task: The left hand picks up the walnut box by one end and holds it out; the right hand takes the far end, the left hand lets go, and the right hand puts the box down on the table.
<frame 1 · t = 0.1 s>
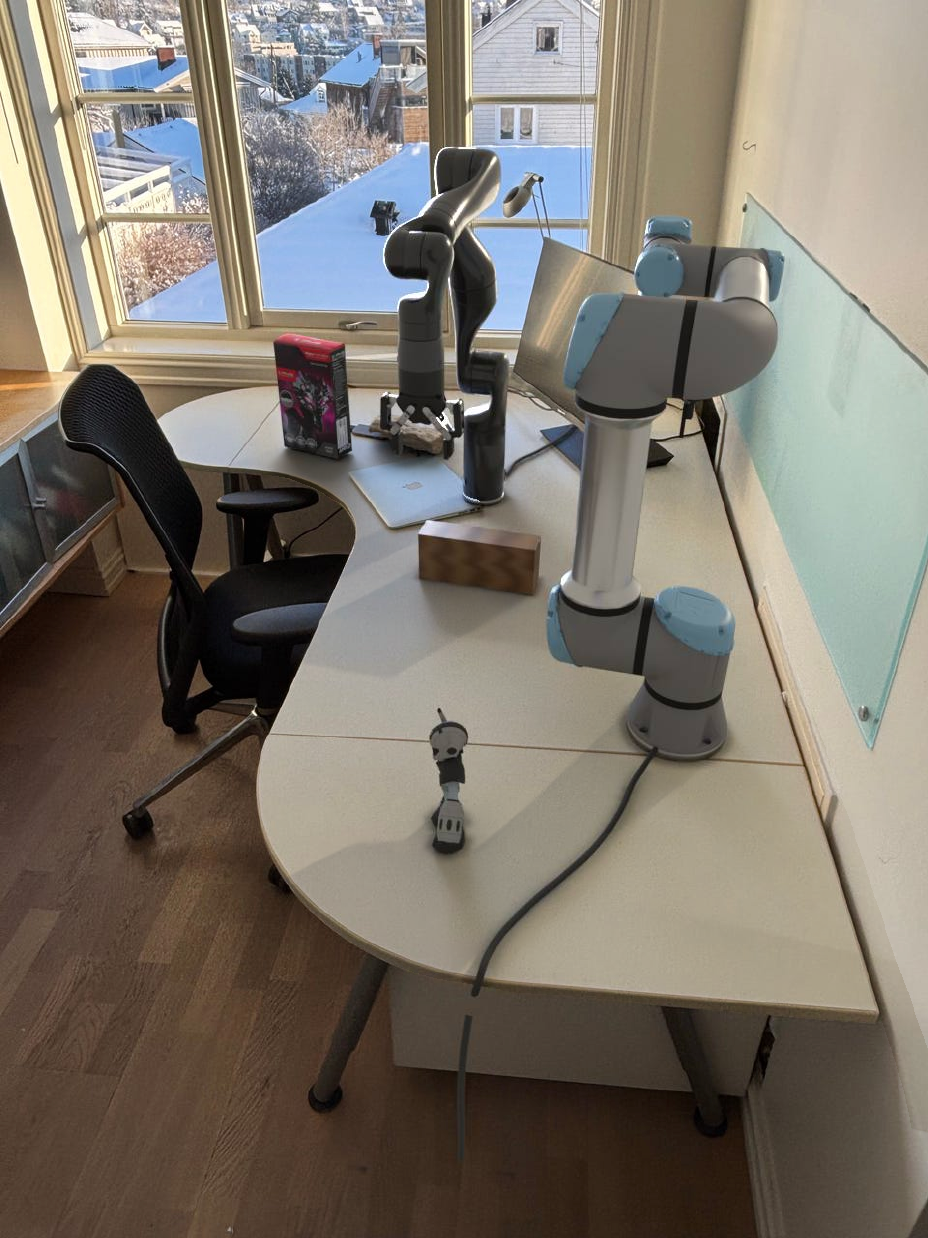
left hand: (422, 455, 158), 29 cm above the table, tool pointing down, fingers open, 8 cm apart
right hand: (643, 431, 170), 28 cm above the table, tool pointing down, fingers open, 13 cm apart
graphics card box: (318, 450, 231), on the table
stone: (406, 443, 235), on the table
robot: (448, 832, 125), on the table
box: (478, 578, 180), on the table
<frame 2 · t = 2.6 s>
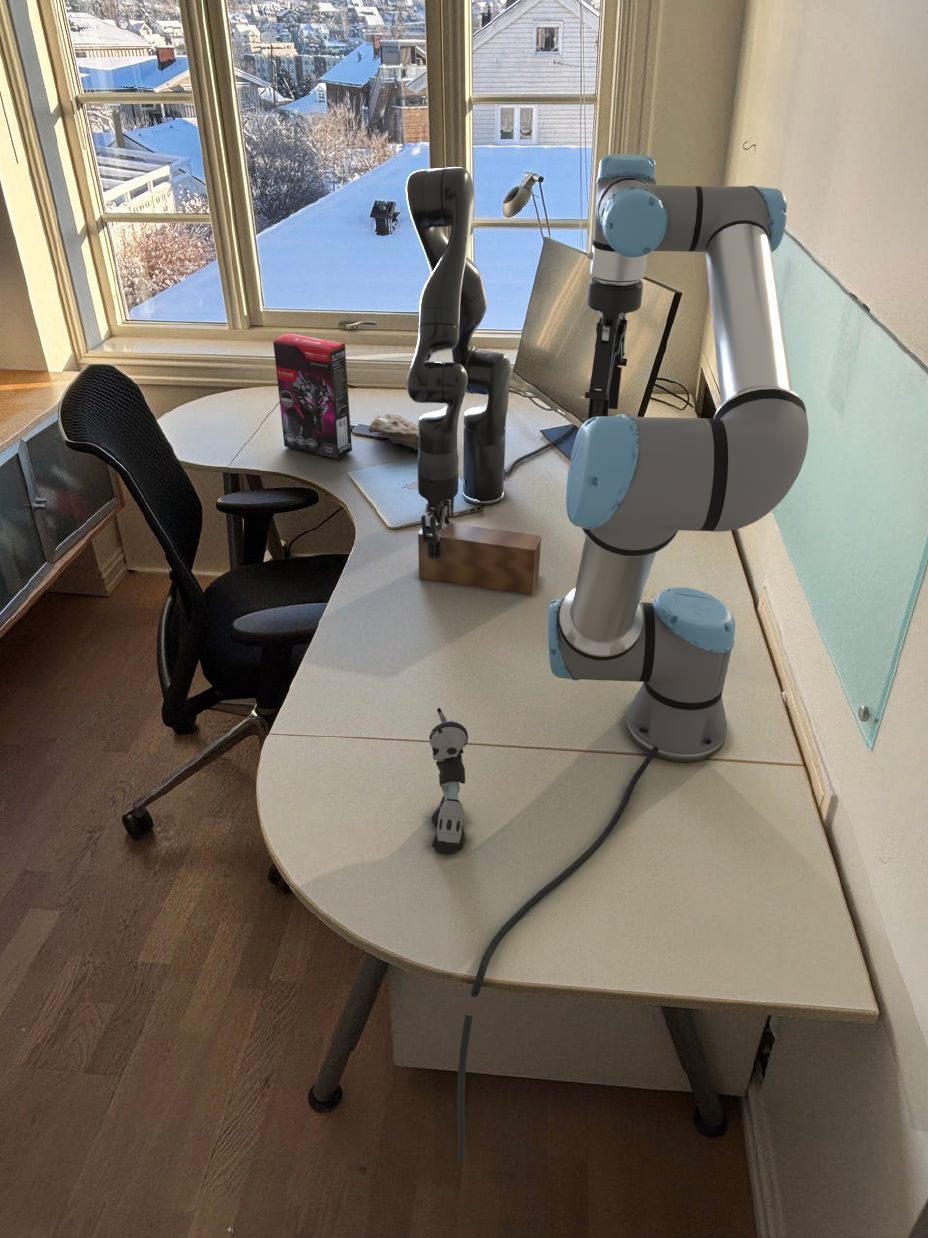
left hand: (438, 549, 179), 5 cm above the table, tool pointing down, fingers closed on box, 6 cm apart
right hand: (602, 423, 140), 41 cm above the table, tool pointing down, fingers open, 13 cm apart
box: (478, 578, 180), on the table, touching left hand
everything else where it was.
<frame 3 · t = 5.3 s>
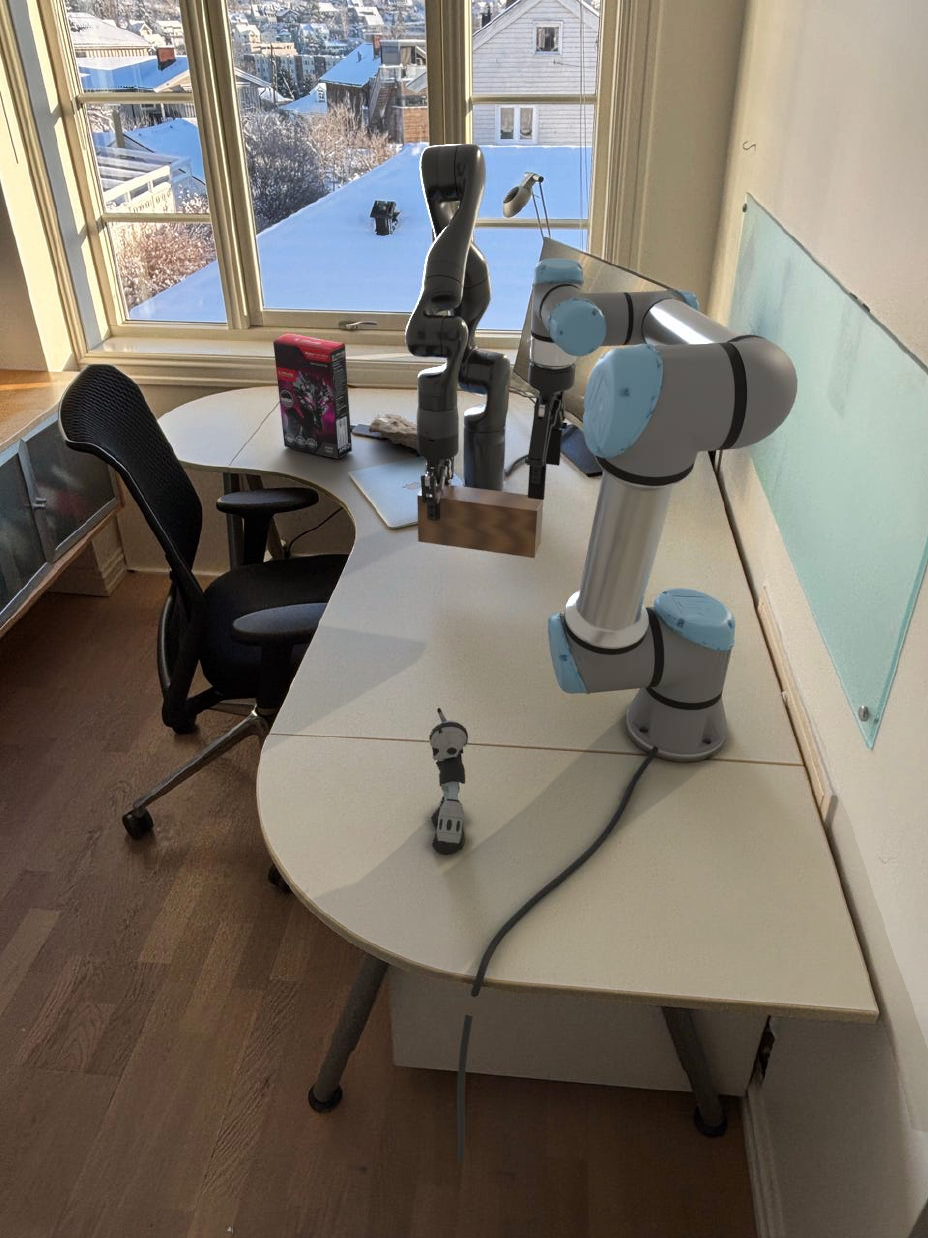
left hand: (438, 511, 175), 13 cm above the table, tool pointing down, fingers closed on box, 6 cm apart
right hand: (544, 480, 161), 25 cm above the table, tool pointing down, fingers open, 13 cm apart
box: (479, 542, 176), point 8 cm above the table, touching left hand
everything else where it was.
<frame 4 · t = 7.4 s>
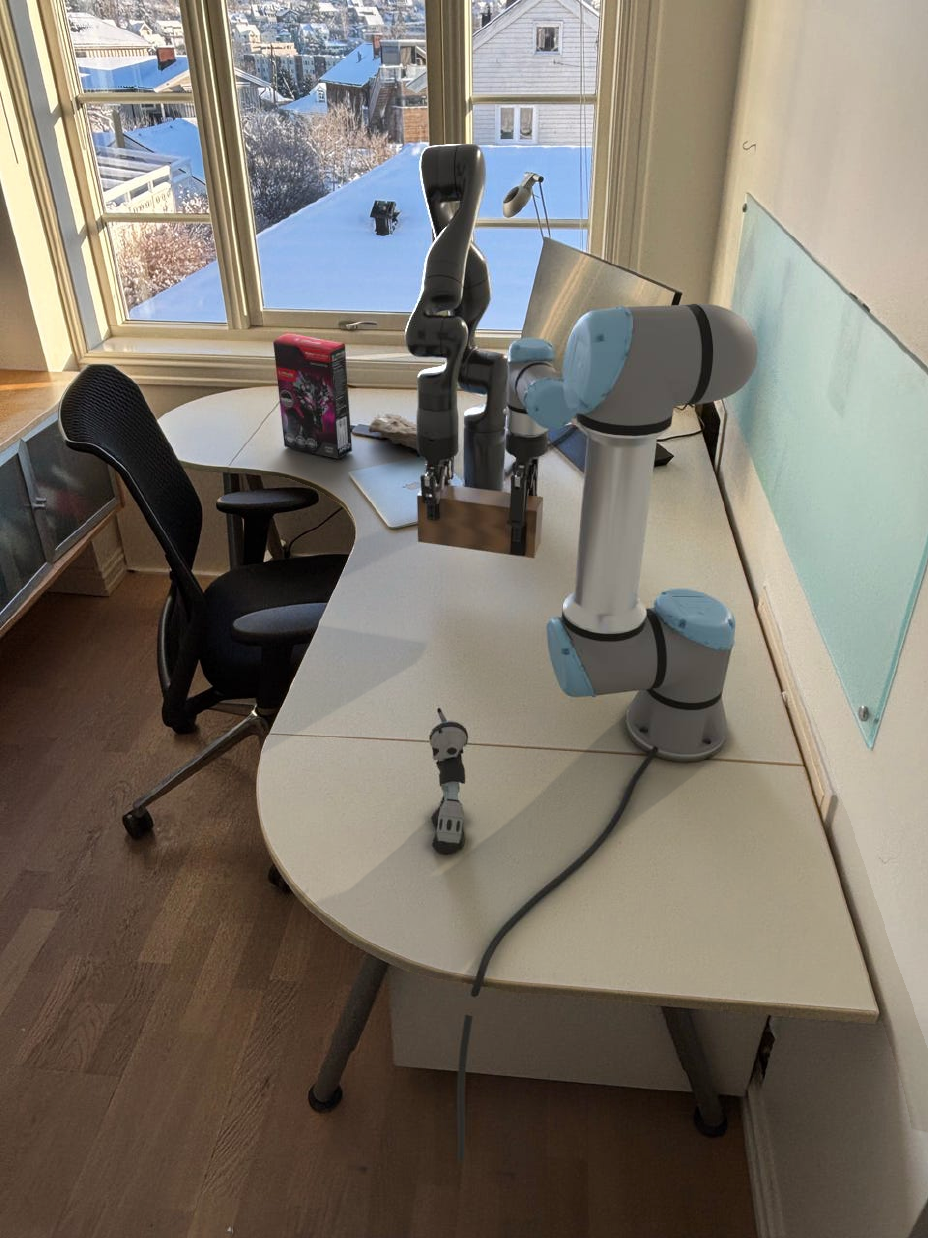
left hand: (438, 511, 175), 13 cm above the table, tool pointing down, fingers closed on box, 6 cm apart
right hand: (521, 545, 174), 9 cm above the table, tool pointing down, fingers closed on box, 6 cm apart
box: (479, 542, 176), point 8 cm above the table, touching right hand, left hand
everything else where it was.
when the left hand's fingers open (13 cm above the table, at t = 8.3 s): box stays where it is, held by the right hand.
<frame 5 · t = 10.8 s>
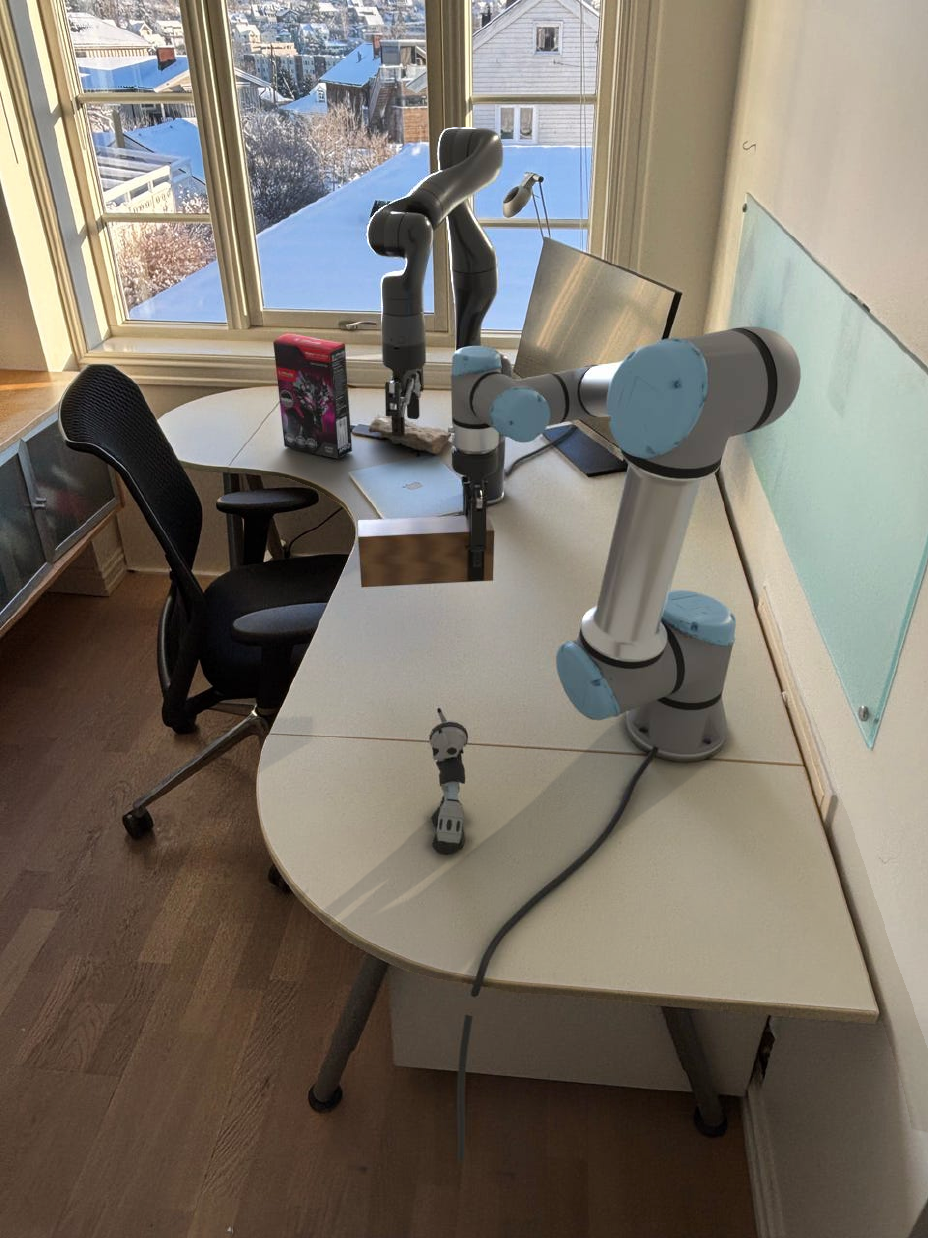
left hand: (406, 426, 167), 30 cm above the table, tool pointing down, fingers open, 8 cm apart
right hand: (473, 569, 161), 11 cm above the table, tool pointing down, fingers closed on box, 6 cm apart
box: (426, 575, 160), point 11 cm above the table, touching right hand
everything else where it was.
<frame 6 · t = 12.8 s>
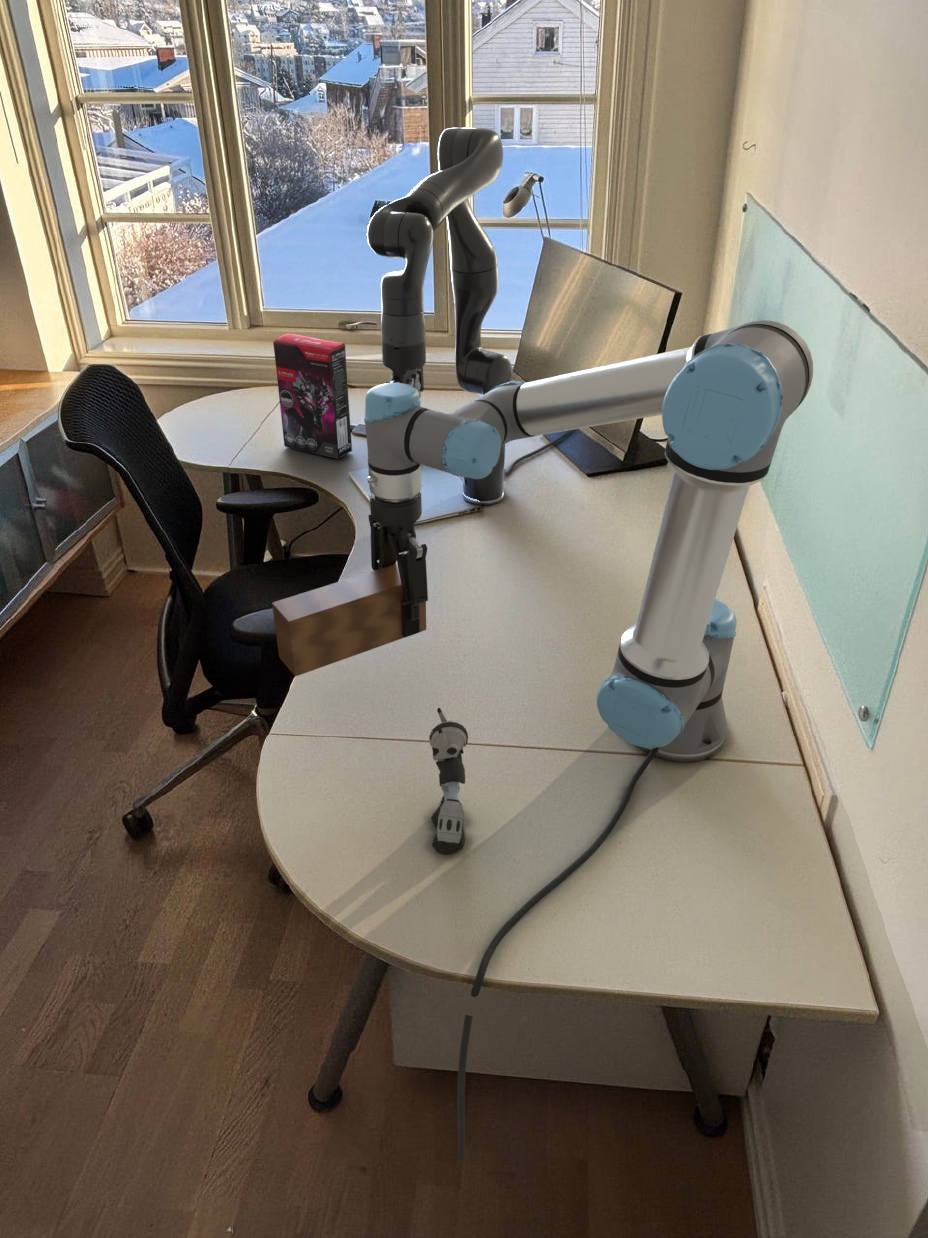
left hand: (406, 426, 167), 30 cm above the table, tool pointing down, fingers open, 8 cm apart
right hand: (400, 623, 147), 12 cm above the table, tool pointing down, fingers closed on box, 6 cm apart
box: (354, 643, 143), point 11 cm above the table, touching right hand
everything else where it was.
when the right hand's fingers open (2 cm above the table, at t = 14.4 s): box stays where it is, on the table.
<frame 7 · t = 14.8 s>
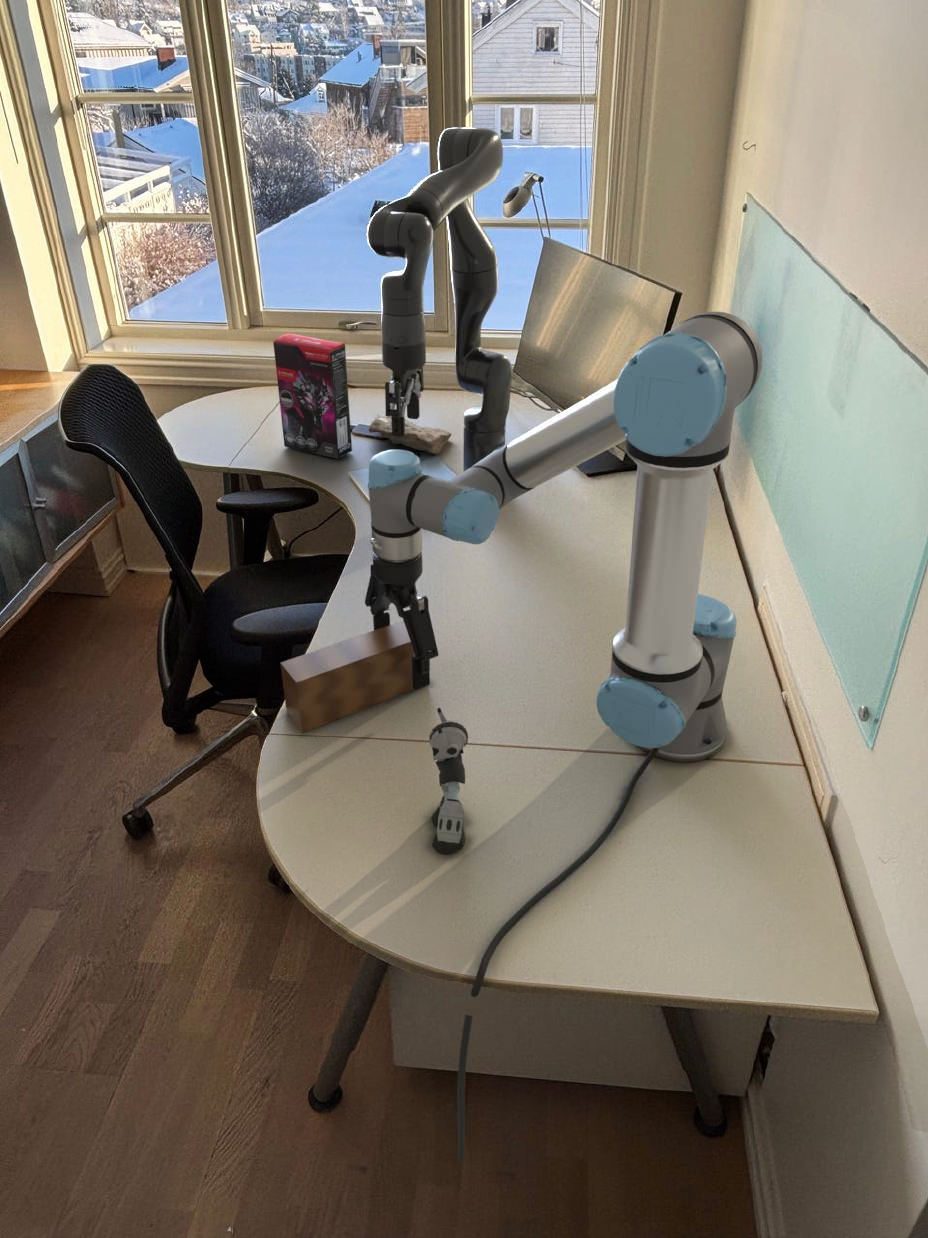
left hand: (406, 426, 167), 30 cm above the table, tool pointing down, fingers open, 8 cm apart
right hand: (401, 666, 151), 3 cm above the table, tool pointing down, fingers open, 12 cm apart
box: (358, 698, 149), on the table
everything else where it was.
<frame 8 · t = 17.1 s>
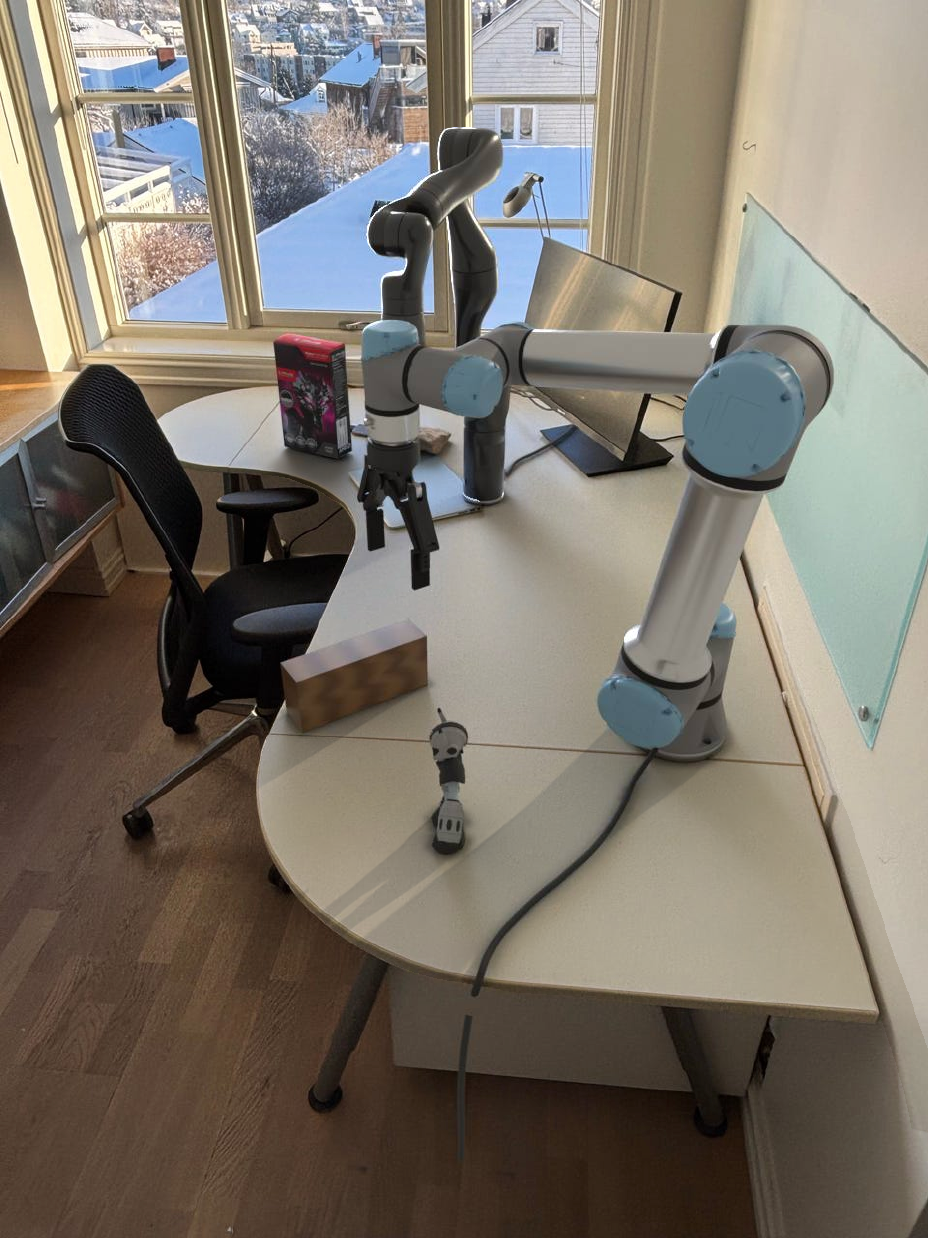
left hand: (406, 426, 167), 30 cm above the table, tool pointing down, fingers open, 8 cm apart
right hand: (397, 567, 141), 22 cm above the table, tool pointing down, fingers open, 13 cm apart
nothing on the table moved.
at the end: box inside the target area (8.2 cm from its centre), on the table; the left hand is holding nothing; the right hand is holding nothing; box at rest at the end (0.0 cm/s) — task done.
